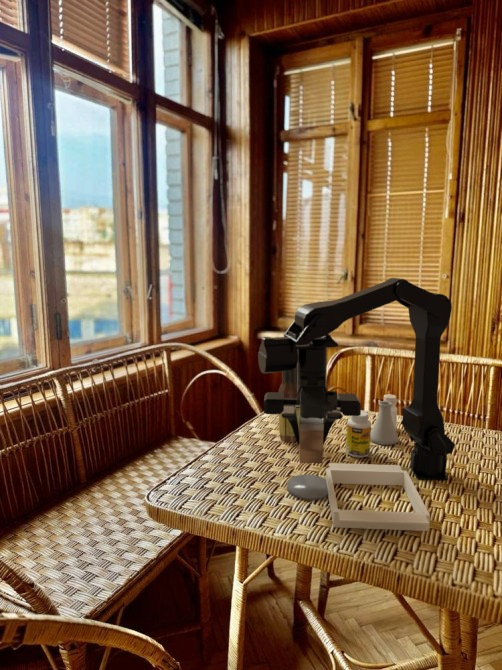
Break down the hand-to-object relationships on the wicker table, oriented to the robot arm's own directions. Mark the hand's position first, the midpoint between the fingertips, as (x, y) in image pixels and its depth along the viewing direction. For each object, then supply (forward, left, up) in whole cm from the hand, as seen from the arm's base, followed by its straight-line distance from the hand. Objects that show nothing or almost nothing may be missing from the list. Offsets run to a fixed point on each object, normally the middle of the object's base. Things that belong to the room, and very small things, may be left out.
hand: (310, 444), depth 96 cm
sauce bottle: (+4, -25, -10) cm, 28 cm away
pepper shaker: (-23, -33, -10) cm, 41 cm away
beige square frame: (-12, +5, -10) cm, 16 cm away
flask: (-20, -26, -10) cm, 34 cm away
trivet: (0, 0, -10) cm, 10 cm away
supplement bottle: (-12, -17, -10) cm, 24 cm away
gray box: (0, 0, -3) cm, 3 cm away
